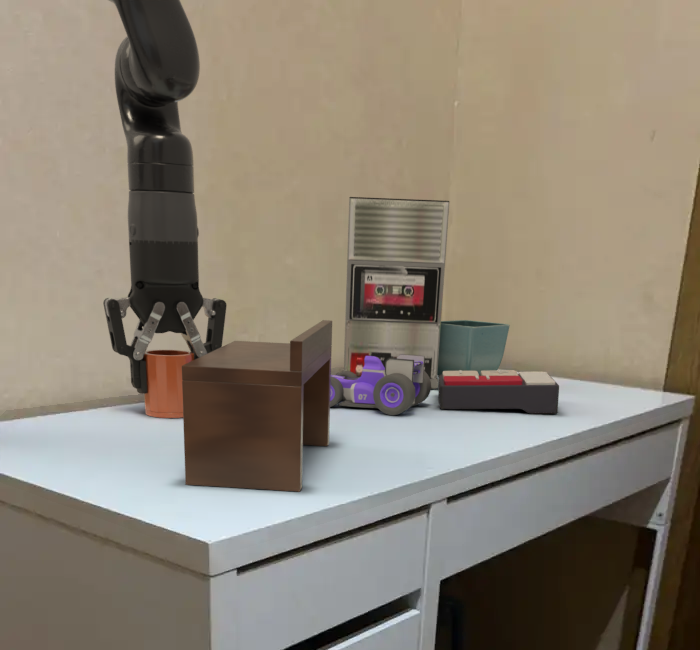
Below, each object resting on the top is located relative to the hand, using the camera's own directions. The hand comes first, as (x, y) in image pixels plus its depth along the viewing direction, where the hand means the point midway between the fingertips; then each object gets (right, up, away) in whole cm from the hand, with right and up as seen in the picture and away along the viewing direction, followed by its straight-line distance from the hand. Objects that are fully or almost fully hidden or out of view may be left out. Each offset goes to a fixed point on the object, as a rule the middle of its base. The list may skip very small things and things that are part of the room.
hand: (169, 391), depth 110 cm
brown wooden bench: (+13, -12, -20) cm, 27 cm away
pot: (0, -2, +1) cm, 3 cm away
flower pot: (+38, +8, +31) cm, 50 cm away
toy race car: (+23, +1, +11) cm, 25 cm away
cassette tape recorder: (+27, +8, +28) cm, 40 cm away
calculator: (+41, +2, +15) cm, 43 cm away
